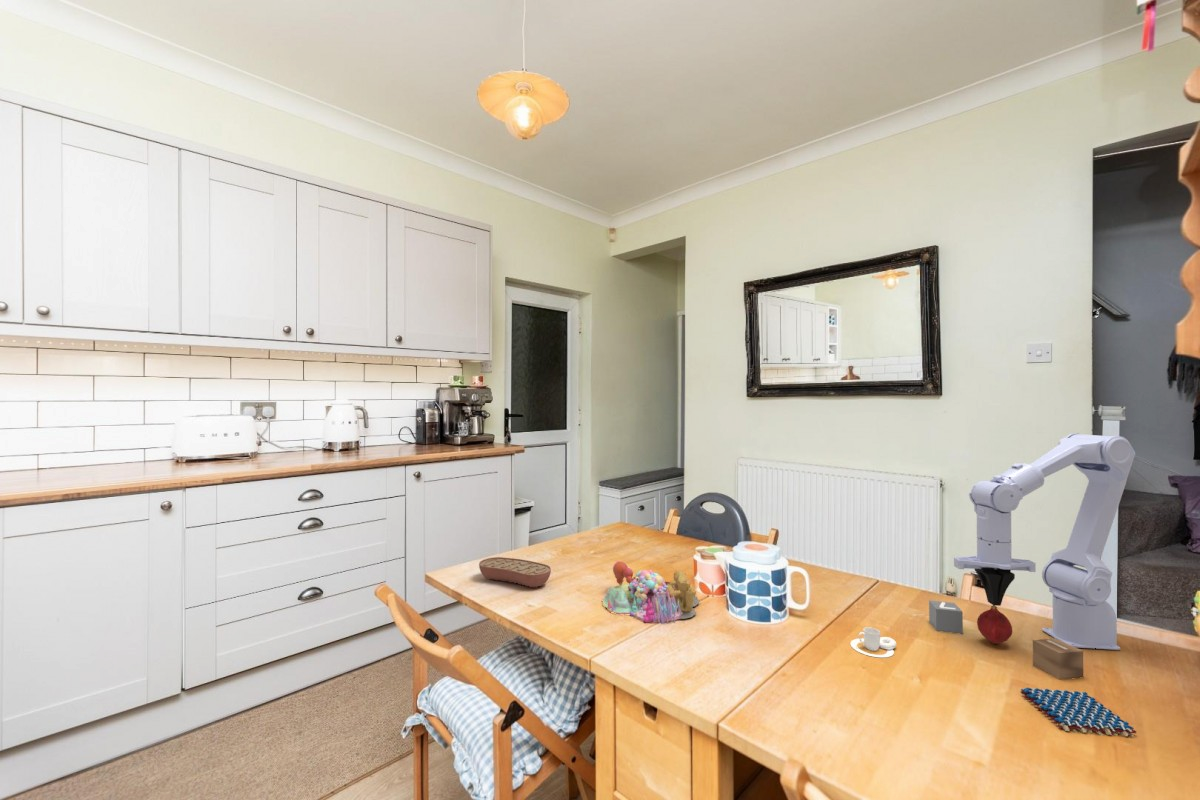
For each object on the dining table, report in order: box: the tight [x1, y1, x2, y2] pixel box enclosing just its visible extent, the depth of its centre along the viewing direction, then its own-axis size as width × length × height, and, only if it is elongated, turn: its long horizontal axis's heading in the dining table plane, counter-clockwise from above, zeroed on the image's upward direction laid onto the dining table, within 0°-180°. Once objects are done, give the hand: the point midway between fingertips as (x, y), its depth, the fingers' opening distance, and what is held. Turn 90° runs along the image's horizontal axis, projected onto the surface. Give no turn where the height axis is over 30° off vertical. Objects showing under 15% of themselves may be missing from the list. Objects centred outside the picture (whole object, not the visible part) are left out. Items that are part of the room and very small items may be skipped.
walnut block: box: [1032, 637, 1084, 681], centre depth 95 cm, size 5×5×5 cm
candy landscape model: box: [601, 561, 701, 624], centre depth 128 cm, size 25×24×9 cm
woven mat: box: [1020, 686, 1137, 738], centre depth 82 cm, size 10×11×2 cm
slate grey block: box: [928, 600, 964, 635], centre depth 113 cm, size 5×5×5 cm
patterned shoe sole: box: [478, 556, 552, 588], centre depth 144 cm, size 23×10×5 cm, turn 63°
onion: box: [976, 605, 1013, 645], centre depth 105 cm, size 6×6×8 cm
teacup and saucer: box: [849, 626, 897, 659], centre depth 104 cm, size 9×8×4 cm
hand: (994, 603), depth 105 cm, fingers closed
